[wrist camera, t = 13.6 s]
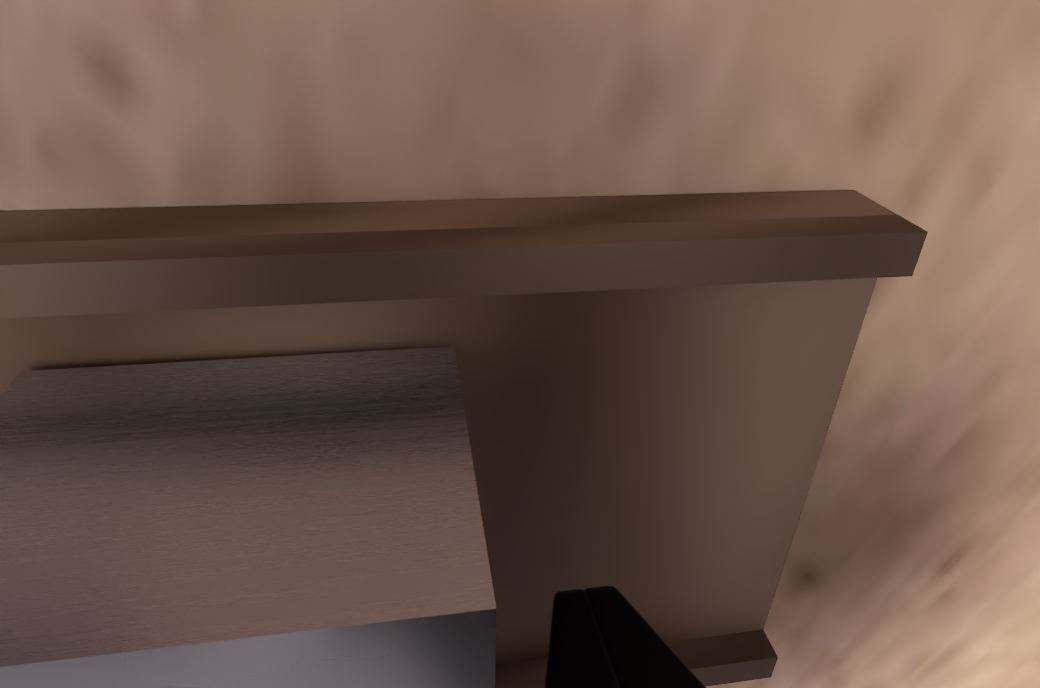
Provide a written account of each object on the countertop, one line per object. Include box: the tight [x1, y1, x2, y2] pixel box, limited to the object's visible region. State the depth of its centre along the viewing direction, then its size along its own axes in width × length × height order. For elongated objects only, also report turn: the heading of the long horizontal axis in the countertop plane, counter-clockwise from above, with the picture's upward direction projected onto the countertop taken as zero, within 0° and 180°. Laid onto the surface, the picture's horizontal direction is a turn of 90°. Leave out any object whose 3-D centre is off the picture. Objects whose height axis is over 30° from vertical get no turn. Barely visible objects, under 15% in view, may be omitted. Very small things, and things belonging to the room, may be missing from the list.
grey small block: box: [0, 346, 496, 688], centre depth 8 cm, size 5×6×4 cm
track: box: [0, 190, 927, 688], centre depth 9 cm, size 21×9×4 cm, turn 88°
